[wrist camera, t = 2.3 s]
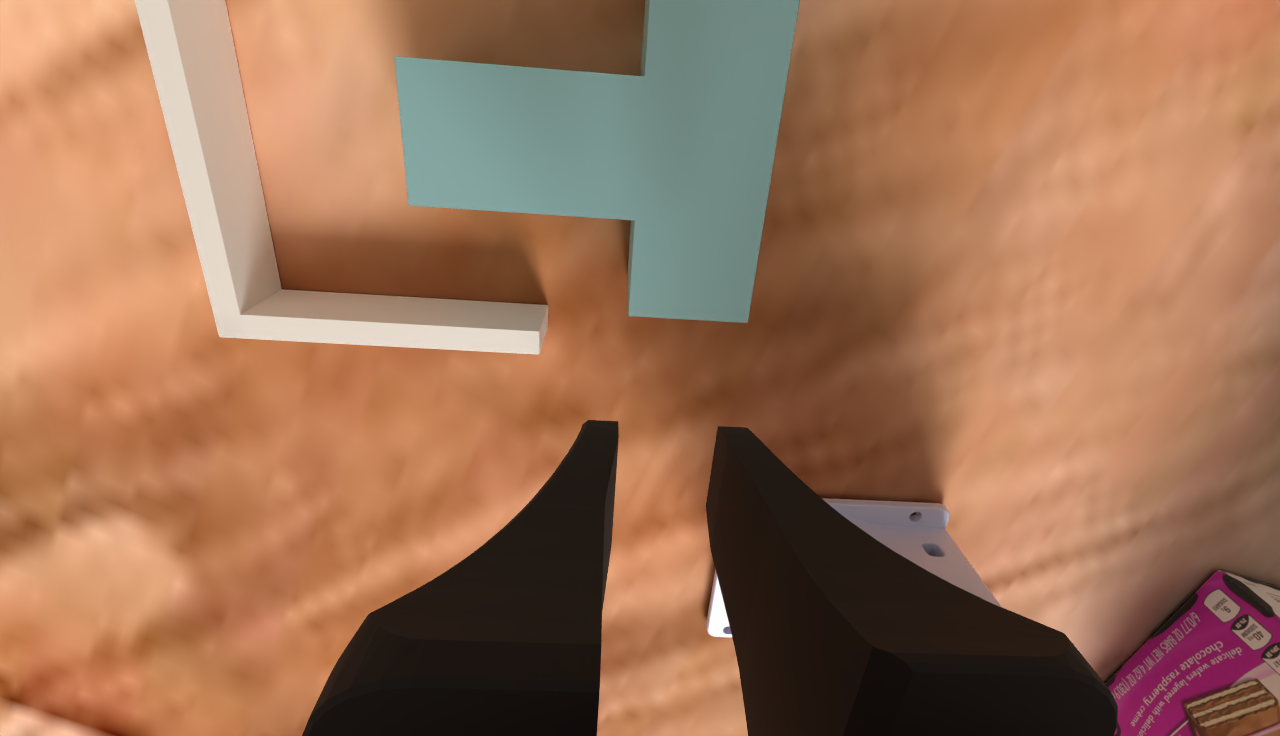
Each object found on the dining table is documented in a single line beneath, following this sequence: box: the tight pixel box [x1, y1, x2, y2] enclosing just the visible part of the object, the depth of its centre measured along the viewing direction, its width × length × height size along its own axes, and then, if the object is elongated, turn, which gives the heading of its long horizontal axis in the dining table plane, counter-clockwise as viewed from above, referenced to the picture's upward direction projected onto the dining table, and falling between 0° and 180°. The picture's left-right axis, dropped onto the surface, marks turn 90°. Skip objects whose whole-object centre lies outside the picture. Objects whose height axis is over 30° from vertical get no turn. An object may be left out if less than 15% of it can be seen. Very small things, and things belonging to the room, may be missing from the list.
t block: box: [395, 0, 800, 323], centre depth 17 cm, size 10×9×4 cm
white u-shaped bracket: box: [135, 0, 548, 354], centre depth 17 cm, size 10×13×2 cm
